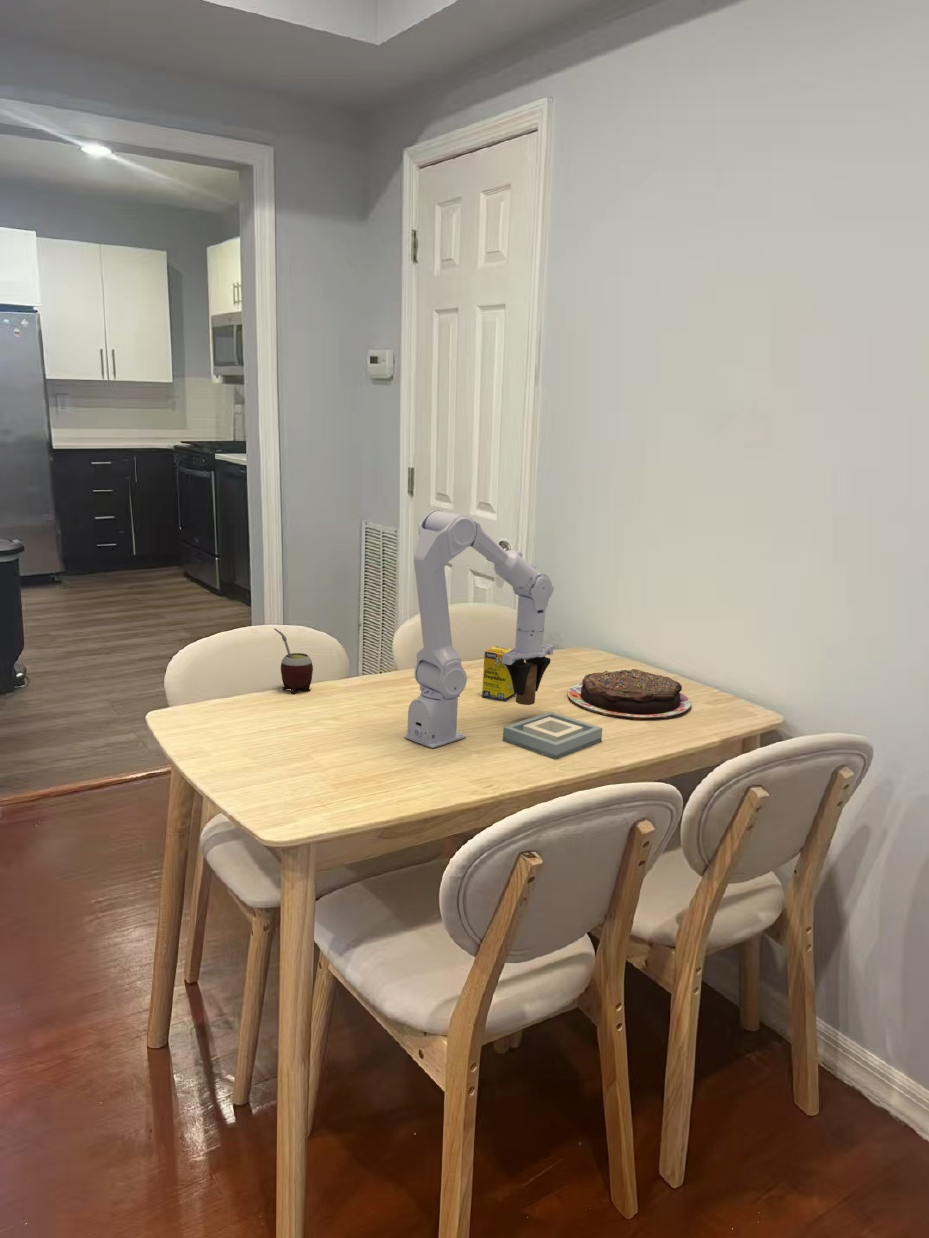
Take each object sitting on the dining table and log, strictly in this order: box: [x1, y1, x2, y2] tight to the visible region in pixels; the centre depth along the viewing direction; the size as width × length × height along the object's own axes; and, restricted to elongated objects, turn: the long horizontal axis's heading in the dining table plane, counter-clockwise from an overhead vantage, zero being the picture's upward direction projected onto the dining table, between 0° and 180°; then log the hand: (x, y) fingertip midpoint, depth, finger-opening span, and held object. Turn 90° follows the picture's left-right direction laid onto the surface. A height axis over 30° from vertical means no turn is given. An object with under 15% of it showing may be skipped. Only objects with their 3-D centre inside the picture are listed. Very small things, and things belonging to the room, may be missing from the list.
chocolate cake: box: [566, 668, 692, 721], centre depth 207 cm, size 28×28×7 cm
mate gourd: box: [273, 627, 314, 695], centre depth 202 cm, size 8×8×15 cm
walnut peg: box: [515, 662, 537, 706], centre depth 190 cm, size 4×4×8 cm
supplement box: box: [481, 645, 516, 703], centre depth 205 cm, size 6×6×11 cm
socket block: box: [523, 717, 583, 742], centre depth 179 cm, size 8×8×2 cm
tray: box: [502, 711, 603, 760], centre depth 179 cm, size 15×13×3 cm
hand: (525, 692), depth 190 cm, fingers closed on walnut peg, 4 cm apart
